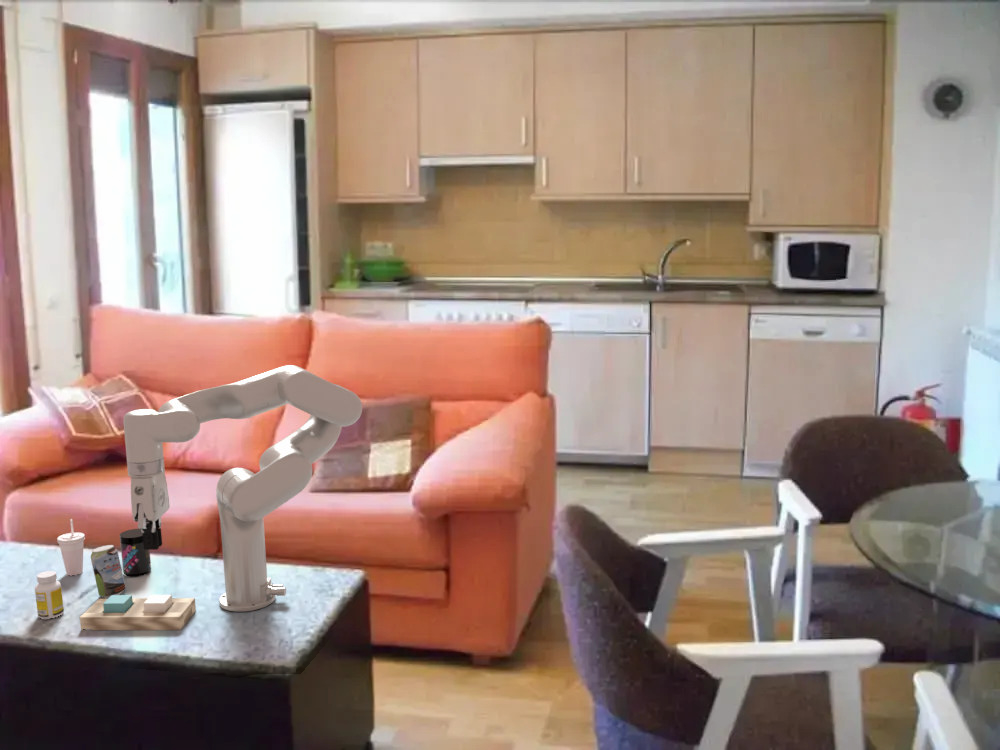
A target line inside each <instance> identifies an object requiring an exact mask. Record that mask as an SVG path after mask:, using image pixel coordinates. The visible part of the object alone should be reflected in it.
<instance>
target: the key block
mask: <svg viewBox="0 0 1000 750" xmlns="http://www.w3.org/2000/svg"><path fill="white" fill-rule="evenodd" d="M148 598H149V597H146V598H145V597H144V598H143V597H141V598H135V597H134V598H133V597H132V600H133V605H132V607H131V608H130V609H129V610H128V611H127V612H126V613H104V607H103V603H104V602H105V601H106V600H107V599H108V598H98V599H97V600H96V601H95V602H94V603H93V604H92V605H91V606H90V607H89V608H88V609H87V610H86V611H85V612H84V613H83V614H81V615H80V617H79V623H80V630H81V631H84V630H83V629H92V630H91V631H150V630H151V631H171V630H172V631H174V630H175V631H177V630H178V631H181V630H182V628H184V627H185V625H186V624H187V622H188V621H189V620H190V619H191V617H192V616H193V615H194V614H195V612H196V611H197V608H196V598H195V597H183V598H182V597H179V598H177V597H176V598H173V597H172V606H171V607H170V608H169V610H168V611H167V612H163V613H144V602H145V601H146V600H147V599H148Z"/></svg>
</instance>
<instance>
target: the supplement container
mask: <svg viewBox="0 0 1000 750" xmlns="http://www.w3.org/2000/svg"><path fill="white" fill-rule="evenodd" d="M119 542H120V552H121V553H120V554H121V561H122V562H121V563H122V564H121V566H122V573H123V576H125V577H128V578H138V577H139V578H140V577H143V576H146V575H148V574H149V573H150V572H151V570H152V562H151V550H145V549H144V545H143V534H142V531H141V529H138V528H134V529H133V528H132V529H128V530H124V531H122V532H121V533H119Z"/></svg>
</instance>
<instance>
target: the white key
mask: <svg viewBox="0 0 1000 750" xmlns="http://www.w3.org/2000/svg"><path fill="white" fill-rule="evenodd" d="M147 598H148V599H147V600H146V601H145V602H144V613H163V612H167V611H168V610H169V608H170V607H171V606H172V598H173V595H172V594H151V595H150V596H149V597H147Z"/></svg>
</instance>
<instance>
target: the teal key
mask: <svg viewBox="0 0 1000 750" xmlns="http://www.w3.org/2000/svg"><path fill="white" fill-rule="evenodd" d="M132 598H133V595H132V594H119V595H111V596H110V597H109V598H106V599H107V600H106V601H105V602H104V603H103V607H104V613H126V612H127V611H128V610H129V609H130V608H131V607H132V605H133V600H132Z"/></svg>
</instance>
